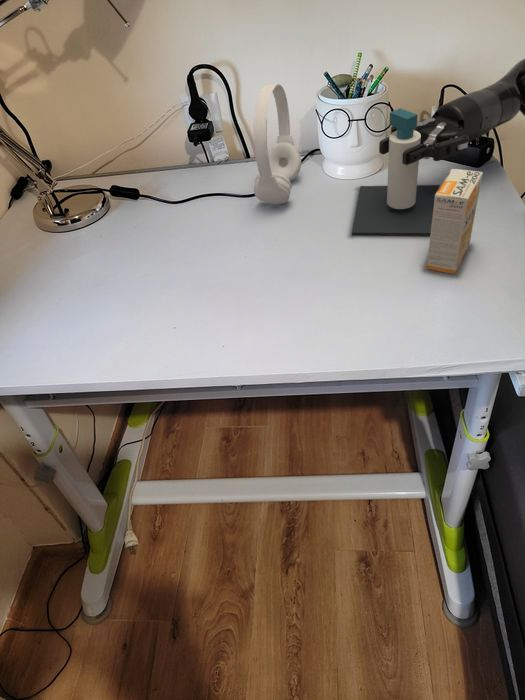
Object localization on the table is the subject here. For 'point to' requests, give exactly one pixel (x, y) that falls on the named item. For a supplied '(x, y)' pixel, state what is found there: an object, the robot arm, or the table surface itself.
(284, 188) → the headphones
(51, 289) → the table surface
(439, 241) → the supplement box
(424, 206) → the mat
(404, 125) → the spray bottle
